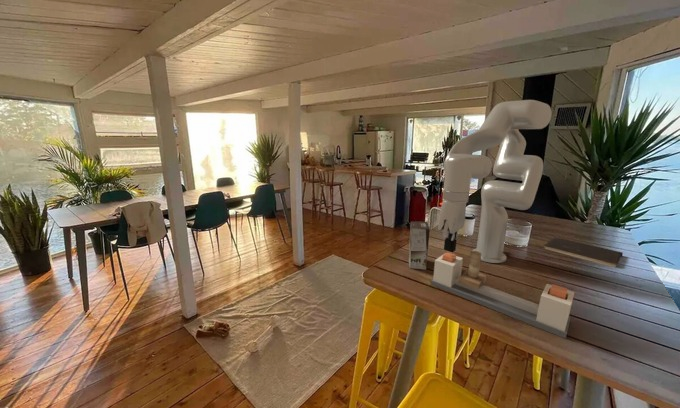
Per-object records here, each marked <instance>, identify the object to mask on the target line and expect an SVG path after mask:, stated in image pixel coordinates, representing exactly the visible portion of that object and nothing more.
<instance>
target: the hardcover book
mask: <svg viewBox="0 0 680 408" xmlns="http://www.w3.org/2000/svg"><path fill="white" fill-rule="evenodd" d="M543 245H544V249H545V250H547V251H548V250H549V251H552V252H556V253H559V254H564V255H566V256H567V255H568V256H569V257H570V256H571V257H573V258H579V259H582V260H585V261H590V262H593V263H596V264H601V265H605V266H608V267H611V268H616V267H617V265H618V263H619V261H620V259H621V257H622V256H623V254H624V253H623V252H622V251H618V250H612V249H609V248H605V247H600V246H596V245H592V244H588V243H583V242H579V241H574V240H570V239H567V238H563V237H557V236H553V237H552V238H551V239H550V240H548V241H547V242H546V243H545V244H543Z"/></svg>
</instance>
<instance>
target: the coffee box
mask: <svg viewBox="0 0 680 408" xmlns="http://www.w3.org/2000/svg"><path fill="white" fill-rule="evenodd" d="M430 230H431V229H430V227H429V223H428V222H427V221H410V231H409V246H408V247H409V248H408V267H409V269H417V270H419V269H420V270H427V264H428V254H429V253H428V250H429V241H430V232H431V231H430Z"/></svg>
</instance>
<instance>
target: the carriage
mask: <svg viewBox="0 0 680 408" xmlns="http://www.w3.org/2000/svg"><path fill="white" fill-rule="evenodd" d="M481 261H482V260H481V253H480V252H477V251H472V250H471V251H470V256H469V265H468V268H467V269H465V271H464V272H463V273H461V276H460V277H459V281H458V283H460V284H463V285H466V286H469V287H471V288H474V289H477V290H479V289H480V287H481V286H482V285H485V283H486V282H487V275H486V274H483V273H481V272H480V267H481Z"/></svg>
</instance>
